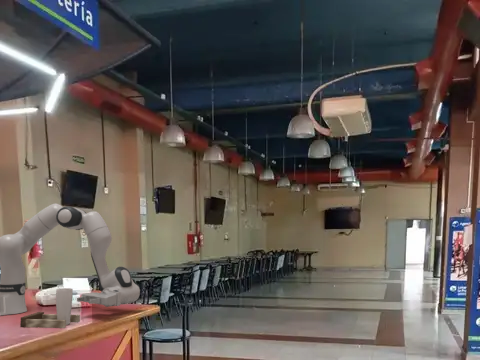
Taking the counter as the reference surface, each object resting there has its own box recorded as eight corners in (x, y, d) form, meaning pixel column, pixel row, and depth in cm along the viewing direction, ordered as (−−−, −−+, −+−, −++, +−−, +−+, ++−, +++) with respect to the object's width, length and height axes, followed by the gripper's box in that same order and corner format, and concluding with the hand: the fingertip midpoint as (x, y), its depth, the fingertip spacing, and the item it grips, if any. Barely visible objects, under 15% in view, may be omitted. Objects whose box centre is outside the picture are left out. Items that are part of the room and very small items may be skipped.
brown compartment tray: (20, 327, 192) (20, 317, 192) (38, 320, 204) (38, 311, 205) (63, 328, 188) (64, 318, 189) (79, 321, 201) (80, 312, 202)
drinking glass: (66, 326, 191) (67, 290, 193) (51, 326, 193) (52, 290, 194) (74, 323, 198) (75, 288, 200) (60, 322, 199) (61, 288, 201)
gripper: (97, 288, 221) (71, 291, 211) (122, 291, 208) (96, 295, 198) (96, 301, 221) (70, 305, 210) (122, 305, 208) (96, 310, 197)
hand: (83, 300), depth 204 cm, fingers open, 8 cm apart
